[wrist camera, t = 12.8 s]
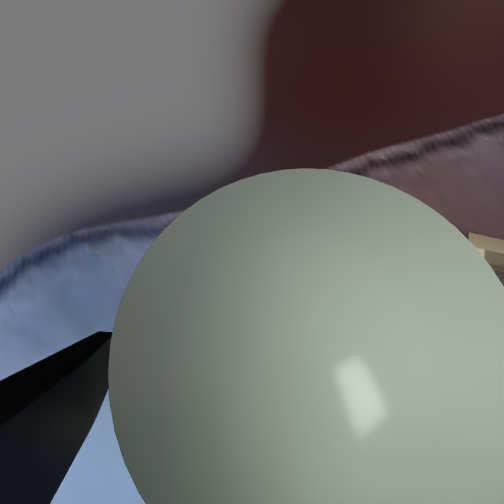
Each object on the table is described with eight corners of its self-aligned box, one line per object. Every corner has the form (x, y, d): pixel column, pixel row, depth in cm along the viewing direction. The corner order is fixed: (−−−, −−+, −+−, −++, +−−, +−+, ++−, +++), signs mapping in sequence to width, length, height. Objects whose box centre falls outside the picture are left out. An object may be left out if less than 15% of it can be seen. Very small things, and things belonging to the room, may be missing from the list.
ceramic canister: (312, 460, 16) (547, 699, 3) (205, 428, 17) (29, 521, 4) (331, 348, 18) (529, 210, 5) (235, 323, 18) (187, 139, 6)
